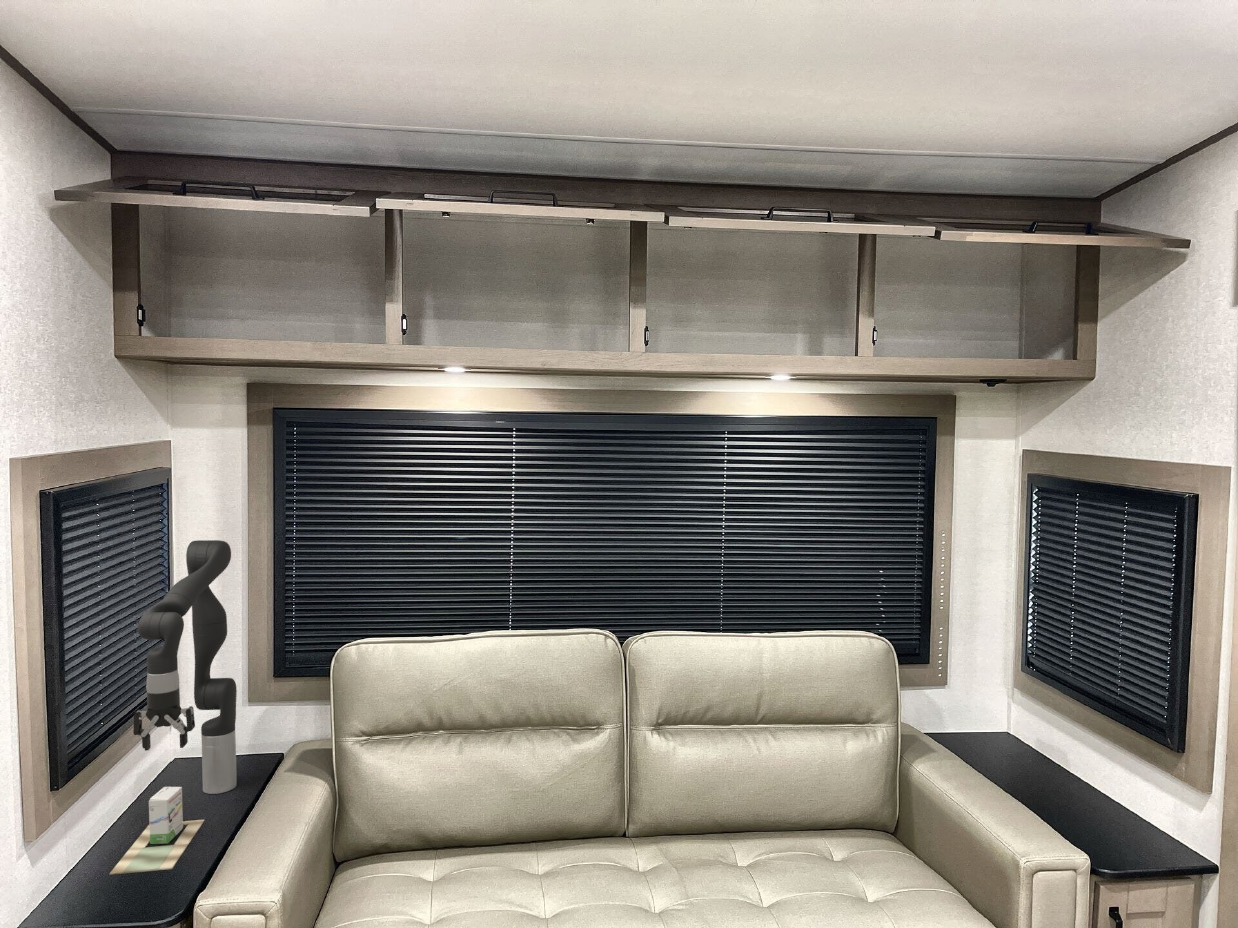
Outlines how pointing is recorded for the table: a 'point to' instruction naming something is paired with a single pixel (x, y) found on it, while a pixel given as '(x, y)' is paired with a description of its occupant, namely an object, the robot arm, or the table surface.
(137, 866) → the beige rectangular frame
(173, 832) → the ink box
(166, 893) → the table surface
